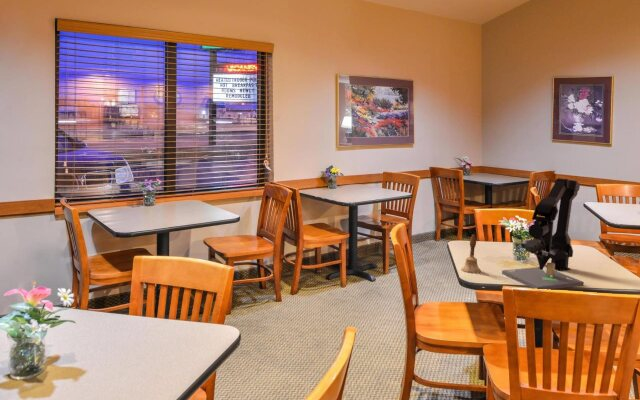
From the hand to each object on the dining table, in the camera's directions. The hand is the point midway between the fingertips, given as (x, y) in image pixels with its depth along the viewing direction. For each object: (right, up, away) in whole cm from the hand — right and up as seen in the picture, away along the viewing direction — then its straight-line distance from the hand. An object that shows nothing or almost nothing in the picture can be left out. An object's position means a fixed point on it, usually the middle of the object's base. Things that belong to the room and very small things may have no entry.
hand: (541, 269), depth 211 cm
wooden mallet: (+4, -2, +4) cm, 5 cm away
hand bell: (-26, -2, +11) cm, 28 cm away
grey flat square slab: (0, -4, -1) cm, 4 cm away
